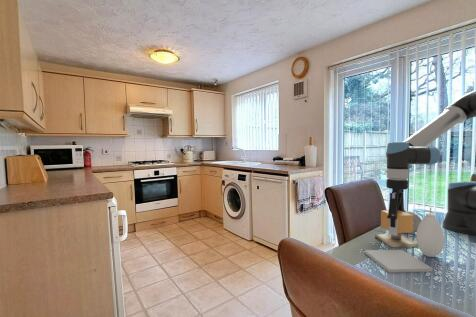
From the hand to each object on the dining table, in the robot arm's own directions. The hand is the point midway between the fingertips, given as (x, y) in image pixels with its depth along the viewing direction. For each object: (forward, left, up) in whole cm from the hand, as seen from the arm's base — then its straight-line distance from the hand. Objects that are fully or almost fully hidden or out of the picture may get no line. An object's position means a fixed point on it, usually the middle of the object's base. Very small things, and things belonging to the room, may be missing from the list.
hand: (396, 230), depth 99 cm
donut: (-13, -10, -5) cm, 17 cm away
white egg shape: (-3, +14, -5) cm, 15 cm away
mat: (+12, +17, -5) cm, 21 cm away
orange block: (0, 0, +1) cm, 1 cm away
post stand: (0, 0, -5) cm, 5 cm away
